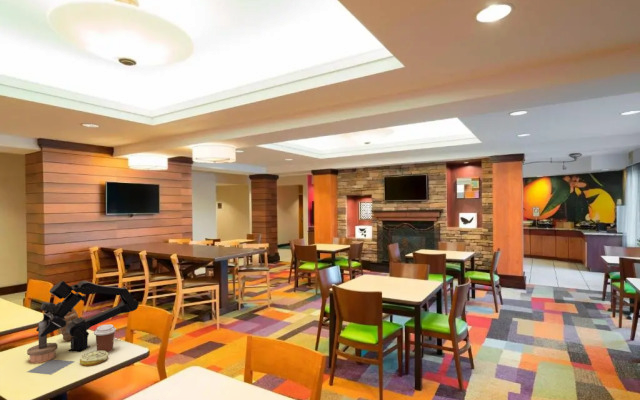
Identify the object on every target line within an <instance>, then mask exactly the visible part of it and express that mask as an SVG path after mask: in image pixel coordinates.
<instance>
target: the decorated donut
mask: <svg viewBox="0 0 640 400" xmlns="http://www.w3.org/2000/svg"><path fill="white" fill-rule="evenodd" d="M108 357H109V353H107V352H106V351H97V350H94V351H90V352H87V353H84V354H82V355H81V356H80V357H79V363H80V364H81V365H82V366H84V367H85V366H86V367H91V366H96V365H99V364H101V363H104V362H105V361H106V360H107V359H108Z"/></svg>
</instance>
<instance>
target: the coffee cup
mask: <svg viewBox="0 0 640 400" xmlns="http://www.w3.org/2000/svg"><path fill="white" fill-rule="evenodd" d="M116 331H117V328H116V327H114V324H102V325H100V326H97V327H96V330H94V331H93V334H94V336H95V341H96V342H95V343H96V351H106V352H107V353H108V354H109V353H111V352H112V351H113V349H114V340H115V339H114V338H115V332H116Z"/></svg>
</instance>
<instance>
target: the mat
mask: <svg viewBox="0 0 640 400" xmlns="http://www.w3.org/2000/svg"><path fill="white" fill-rule="evenodd" d="M73 363H75V361H74V360H66V359H65V360H64V359H63V360H62V359H54V358H52V359H51V360H48V361H45V362H42V364H40V365H38V366H35V367H34V368H32V369H30V370H28V371H26V373H32V374H41V375H53V374H55V373H57V372H59V371H61V370H62V369H64V368H65V367H68V366H69V365H72V364H73Z"/></svg>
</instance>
